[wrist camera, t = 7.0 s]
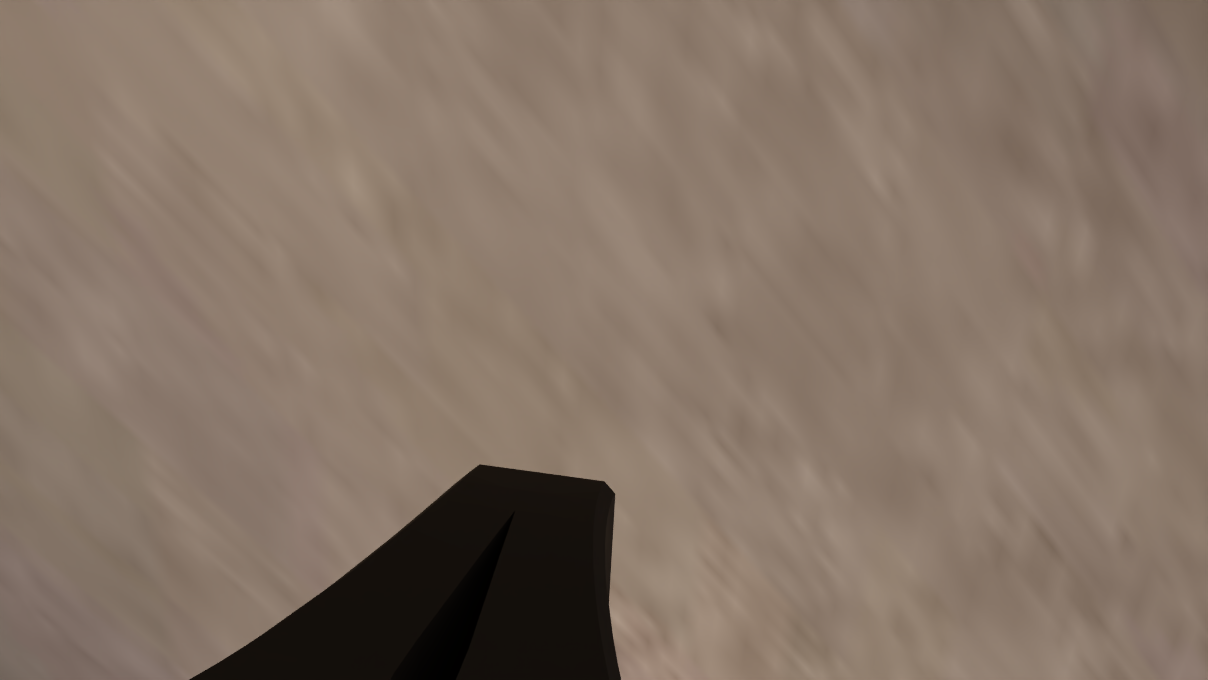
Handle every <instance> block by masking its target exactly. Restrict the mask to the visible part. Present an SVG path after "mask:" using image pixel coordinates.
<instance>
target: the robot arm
mask: <svg viewBox="0 0 1208 680" xmlns="http://www.w3.org/2000/svg"><path fill="white" fill-rule="evenodd" d="M614 505H615V493H614V492H613V491H612V490H611V488H610V487H609V486H608V485H607V484H606V483H605V482H604V481H597V480H590V479H583V478H575V477H568V476H561V475H553V474H546V473H539V472H531V471H524V470H516V469H509V468H502V467H494V466H487V465H478V466H477V467H476V468H474V469H473V470H472V471H470V472H469V473H468V474H467V475H465V476H464V477H463V478H462V479H460V480H459V481H458V482H457V483H456V484H454V485H453V486H452V487H451V488H450V489H448V490H447V491H446V492H445V493H444V494H443V495H441V496H440V497H439V498H438V499H437V500H436V501H434V502H433V503H432V504H431V505H430V506H429V507H427V508H426V509H425V510H424V511H423V512H422V513H420V514H419V515H418V516H417V517H416V518H414V519H413V520H412V521H411V522H410V523H408V524H407V525H406V526H405V527H404V528H402V529H401V530H400V531H399V532H398V533H396V534H395V535H394V536H393V537H392V538H390V539H389V540H388V541H387V542H385V543H384V544H383V545H382V546H380V547H379V548H378V549H377V550H375V551H374V552H373V553H372V554H370V555H369V556H368V557H367V558H365V559H364V560H363V561H362V562H360V563H359V564H358V565H357V566H355V567H354V568H353V569H351V570H350V571H349V572H348V573H346V574H345V575H344V576H343V577H341V578H340V579H339V580H337V581H336V582H335V583H334V584H332V585H331V586H330V587H328V588H327V589H326V590H324V591H323V592H321V593H320V594H319V595H317V596H316V597H314V598H313V599H312V600H310V601H309V602H307V603H306V604H305V605H303V606H302V607H300V608H299V609H298V610H296V611H295V612H293V613H292V614H291V615H289V616H288V617H286V618H285V619H284V620H282V621H281V622H279V623H278V624H277V625H275V626H274V627H272V628H271V629H269V630H268V631H267V632H265V633H264V634H262V635H261V636H259V637H258V638H256V639H255V640H254V641H252V642H250V643H249V644H247V645H246V646H244V647H243V648H241V649H240V650H238V651H236V652H235V653H233V654H232V655H230V656H228V657H227V658H225V659H224V660H222V661H220V662H219V663H217V664H215V665H214V666H212V667H210V668H209V669H207V670H205V671H203V672H202V673H200V674H198V675H197V676H195V677H193V678H191V679H190V680H621V677H620V672H619V668H618V663H617V657H616V652H615V646H614V640H613V634H612V626H611V618H610V610H609V591H610V573H611V556H612V539H613V522H614Z"/></svg>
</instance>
